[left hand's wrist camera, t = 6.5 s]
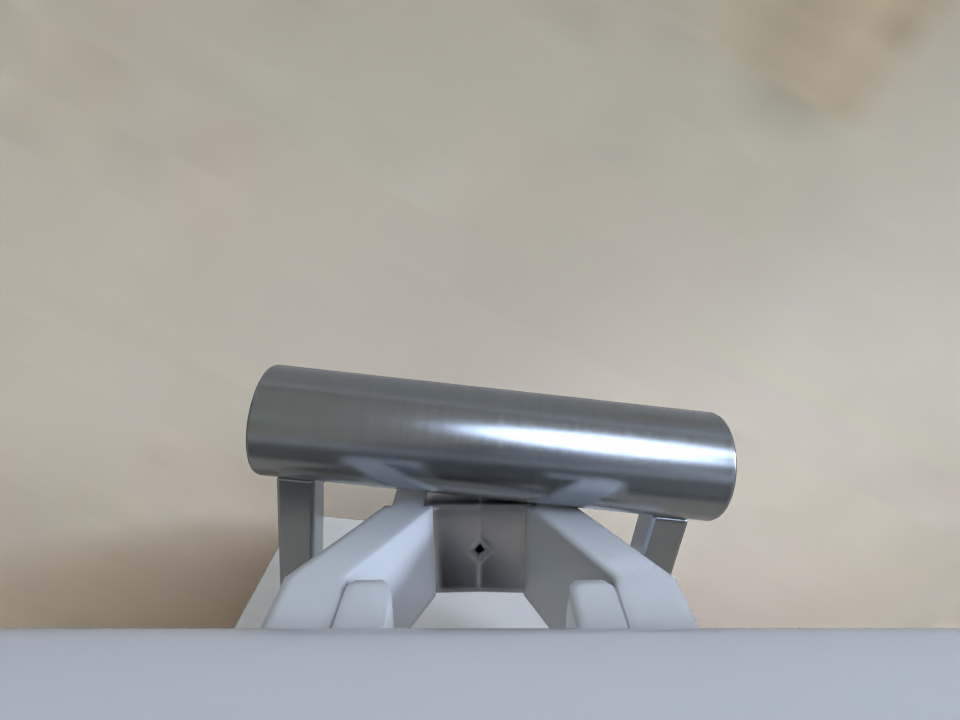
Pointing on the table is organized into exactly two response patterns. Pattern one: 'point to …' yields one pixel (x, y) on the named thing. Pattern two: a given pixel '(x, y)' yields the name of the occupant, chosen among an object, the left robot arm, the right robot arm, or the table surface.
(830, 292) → the table surface
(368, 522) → the left robot arm
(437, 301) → the table surface
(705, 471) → the drawer
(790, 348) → the table surface
